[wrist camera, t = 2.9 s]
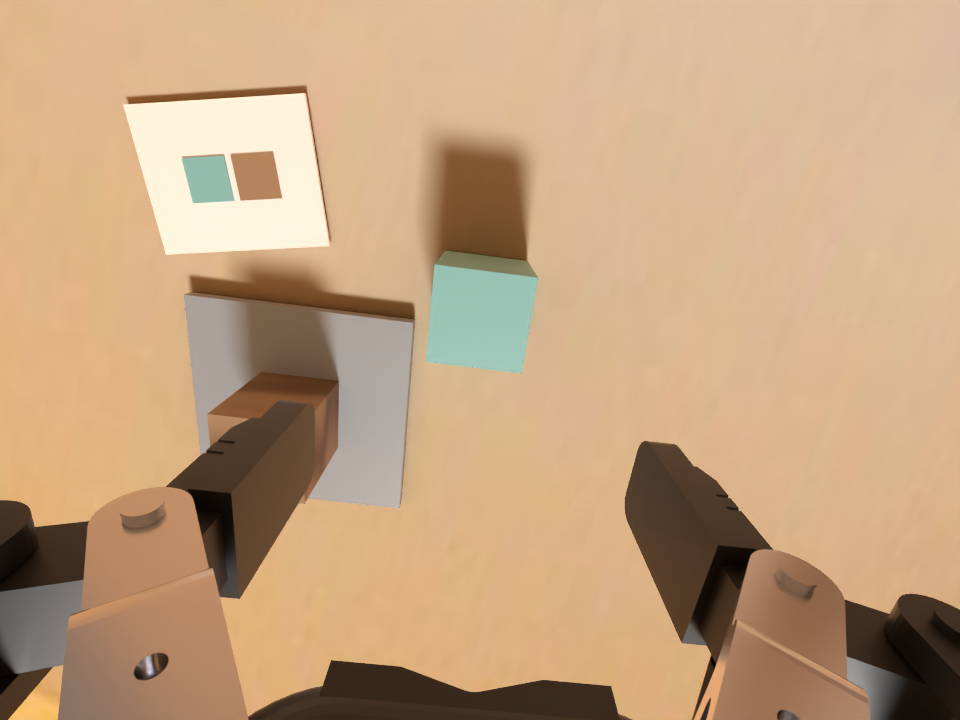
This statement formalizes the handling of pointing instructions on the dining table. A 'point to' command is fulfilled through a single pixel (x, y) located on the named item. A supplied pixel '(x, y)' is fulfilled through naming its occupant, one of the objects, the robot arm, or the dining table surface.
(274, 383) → the walnut brick
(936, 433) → the dining table surface
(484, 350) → the teal brick
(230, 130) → the page
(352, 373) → the plate
